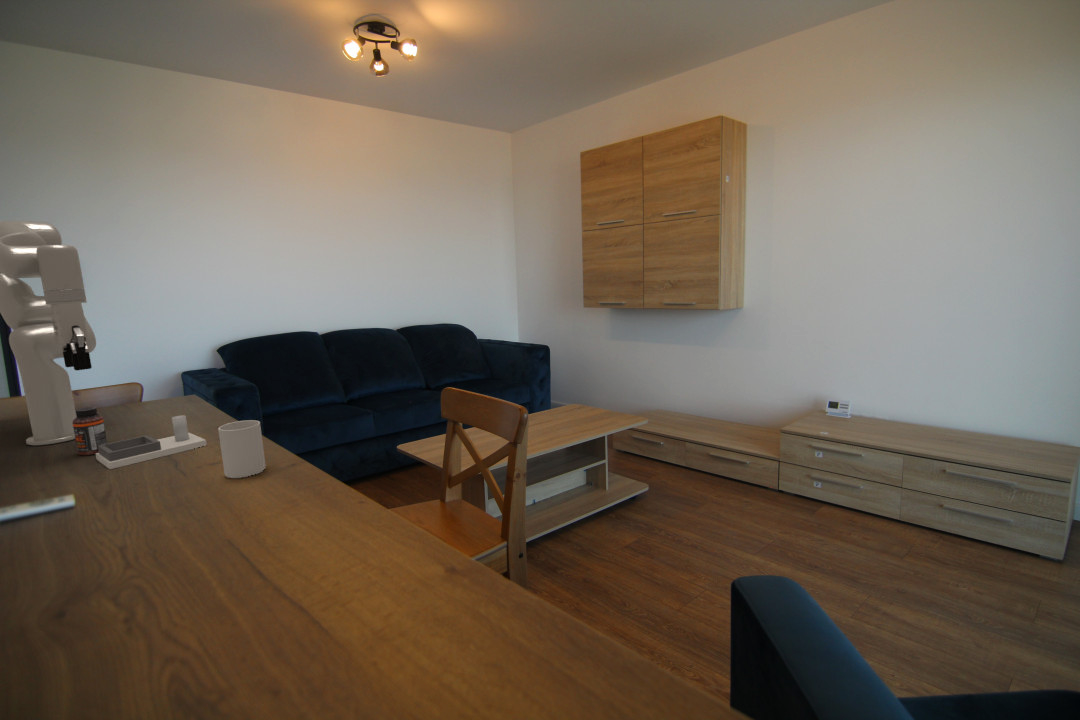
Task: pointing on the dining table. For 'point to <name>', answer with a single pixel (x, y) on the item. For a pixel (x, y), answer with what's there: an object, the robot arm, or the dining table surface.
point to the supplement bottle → (89, 431)
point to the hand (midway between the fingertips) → (78, 367)
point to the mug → (242, 448)
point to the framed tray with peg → (149, 446)
